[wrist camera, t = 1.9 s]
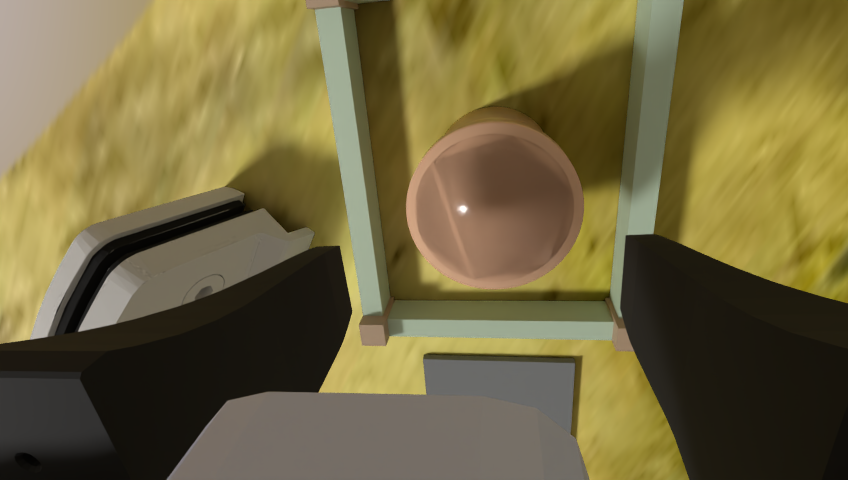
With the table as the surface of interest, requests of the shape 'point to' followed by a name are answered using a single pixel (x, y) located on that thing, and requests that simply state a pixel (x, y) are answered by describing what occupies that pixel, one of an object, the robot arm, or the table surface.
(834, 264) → the table surface
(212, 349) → the robot arm
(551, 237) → the pot
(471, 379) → the mat
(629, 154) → the grey-green rectangular frame
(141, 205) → the table surface
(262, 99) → the table surface
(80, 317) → the hinge
